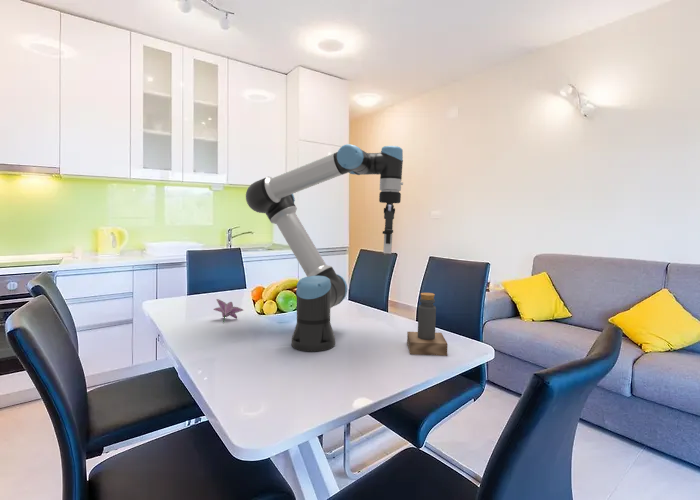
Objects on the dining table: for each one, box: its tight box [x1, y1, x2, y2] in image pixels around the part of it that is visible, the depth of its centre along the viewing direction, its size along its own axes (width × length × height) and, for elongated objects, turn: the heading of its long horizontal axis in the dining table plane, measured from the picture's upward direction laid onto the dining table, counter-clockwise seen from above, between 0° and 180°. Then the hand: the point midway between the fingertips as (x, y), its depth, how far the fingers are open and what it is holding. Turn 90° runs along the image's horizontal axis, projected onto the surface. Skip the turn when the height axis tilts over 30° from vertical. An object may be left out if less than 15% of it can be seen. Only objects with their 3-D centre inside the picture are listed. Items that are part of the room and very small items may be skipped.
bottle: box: [417, 292, 437, 340], centre depth 127 cm, size 6×6×15 cm
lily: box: [213, 298, 244, 323], centre depth 159 cm, size 12×12×10 cm
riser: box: [406, 331, 448, 356], centre depth 128 cm, size 12×12×4 cm
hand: (387, 251), depth 133 cm, fingers open, 13 cm apart
